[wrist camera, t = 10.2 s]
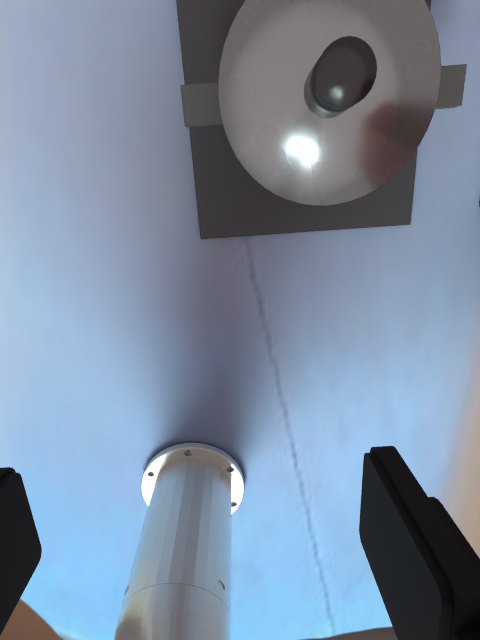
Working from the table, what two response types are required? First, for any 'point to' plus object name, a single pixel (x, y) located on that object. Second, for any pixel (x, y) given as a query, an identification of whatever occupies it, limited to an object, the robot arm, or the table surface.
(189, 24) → the plate
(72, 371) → the table surface
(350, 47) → the lid
